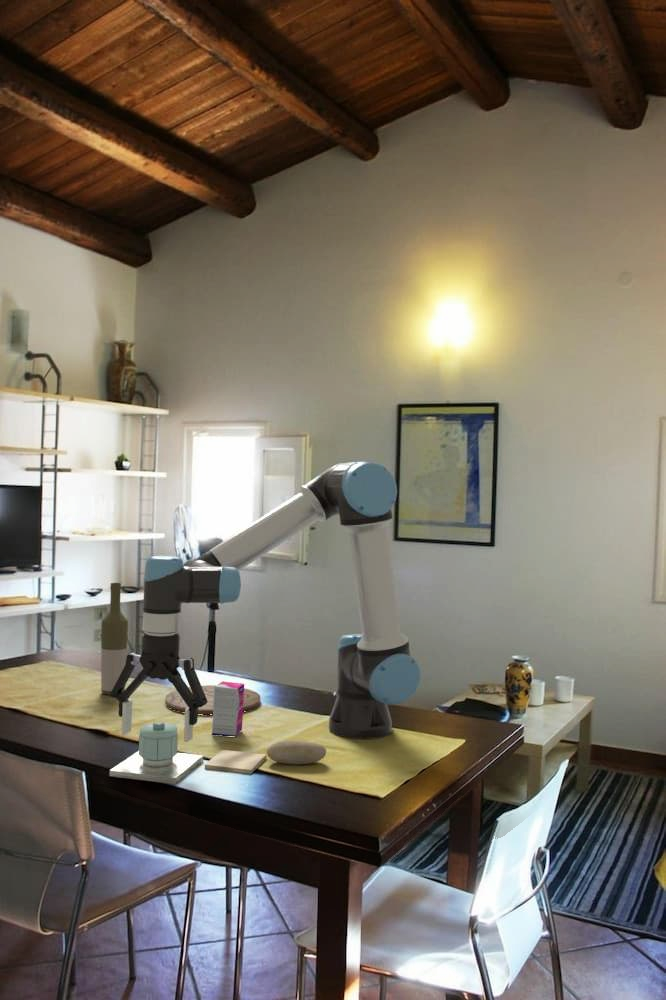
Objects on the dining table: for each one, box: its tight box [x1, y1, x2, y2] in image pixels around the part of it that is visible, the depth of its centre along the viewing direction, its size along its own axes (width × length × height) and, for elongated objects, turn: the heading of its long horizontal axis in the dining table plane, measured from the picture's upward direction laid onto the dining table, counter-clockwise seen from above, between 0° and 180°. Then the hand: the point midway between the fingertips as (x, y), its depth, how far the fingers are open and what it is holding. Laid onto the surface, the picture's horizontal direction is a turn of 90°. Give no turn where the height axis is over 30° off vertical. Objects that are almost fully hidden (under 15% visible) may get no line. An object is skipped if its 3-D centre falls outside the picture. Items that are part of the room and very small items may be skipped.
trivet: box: [164, 684, 261, 715], centre depth 223 cm, size 25×25×2 cm
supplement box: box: [211, 681, 245, 737], centre depth 196 cm, size 6×6×12 cm
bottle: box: [100, 582, 129, 696], centre depth 229 cm, size 7×7×30 cm
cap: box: [138, 721, 179, 760], centre depth 171 cm, size 7×7×6 cm
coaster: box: [204, 749, 267, 775], centre depth 176 cm, size 10×10×1 cm
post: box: [109, 750, 204, 785], centre depth 171 cm, size 14×14×7 cm
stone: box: [266, 739, 327, 765], centre depth 177 cm, size 6×6×12 cm
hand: (156, 736), depth 171 cm, fingers open, 13 cm apart
